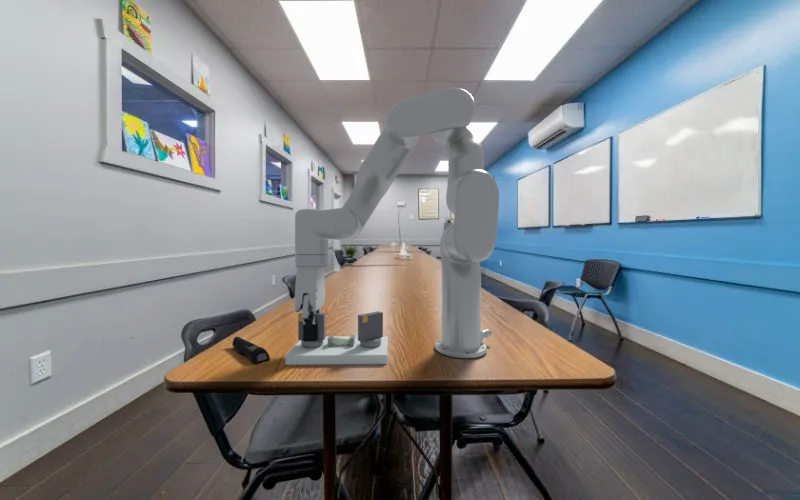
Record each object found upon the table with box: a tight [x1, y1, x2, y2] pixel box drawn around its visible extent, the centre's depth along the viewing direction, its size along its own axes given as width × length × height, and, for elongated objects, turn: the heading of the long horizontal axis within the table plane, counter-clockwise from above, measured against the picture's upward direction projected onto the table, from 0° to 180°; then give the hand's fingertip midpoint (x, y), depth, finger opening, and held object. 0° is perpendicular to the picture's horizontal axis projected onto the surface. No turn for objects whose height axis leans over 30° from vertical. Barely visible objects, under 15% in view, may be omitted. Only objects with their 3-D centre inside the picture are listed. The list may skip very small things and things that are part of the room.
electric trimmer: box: [232, 336, 271, 365], centre depth 70 cm, size 4×16×3 cm, turn 48°
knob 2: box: [357, 310, 384, 347], centre depth 71 cm, size 6×5×7 cm
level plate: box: [284, 334, 389, 366], centre depth 71 cm, size 22×13×4 cm, turn 92°
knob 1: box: [297, 312, 327, 348], centre depth 71 cm, size 6×5×7 cm
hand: (312, 338), depth 71 cm, fingers closed
